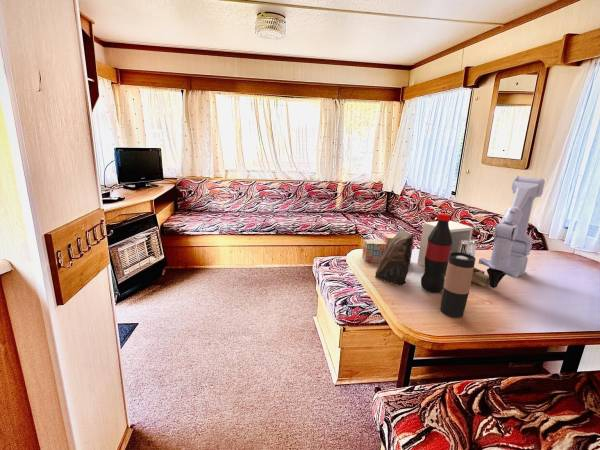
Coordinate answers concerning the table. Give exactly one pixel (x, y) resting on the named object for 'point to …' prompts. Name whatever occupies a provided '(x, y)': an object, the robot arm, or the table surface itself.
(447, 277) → the travel mug
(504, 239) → the robot arm
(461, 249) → the metal cup
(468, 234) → the tall white box
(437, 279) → the cola bottle
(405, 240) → the owl
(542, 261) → the table surface
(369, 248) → the stack of blocks
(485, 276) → the wooden post with crossbar
